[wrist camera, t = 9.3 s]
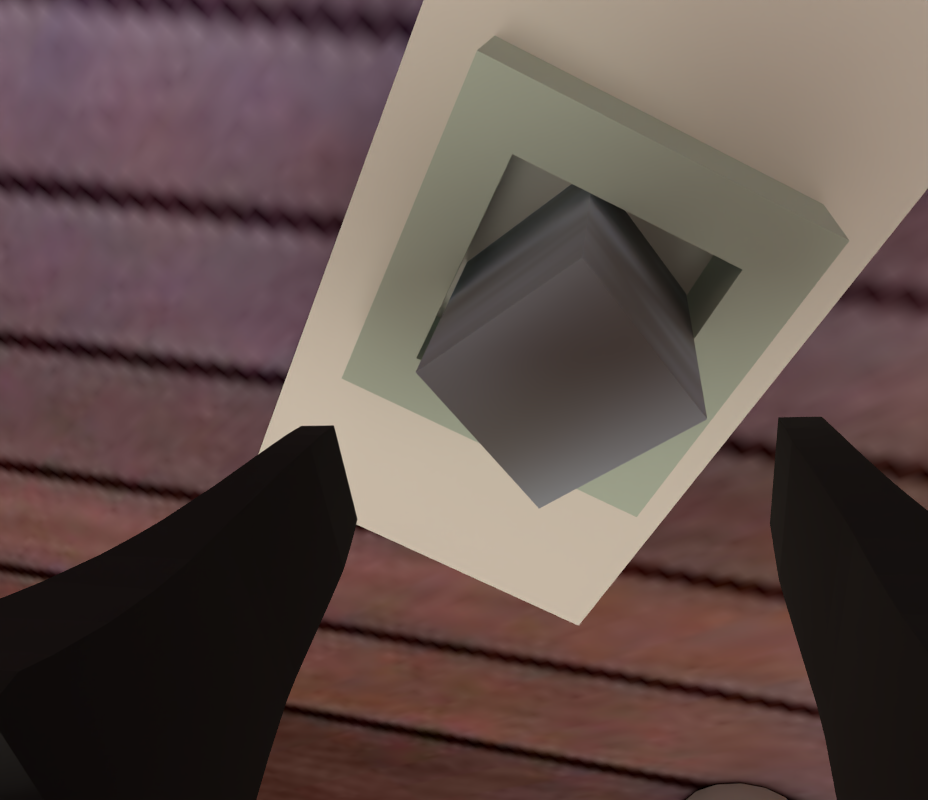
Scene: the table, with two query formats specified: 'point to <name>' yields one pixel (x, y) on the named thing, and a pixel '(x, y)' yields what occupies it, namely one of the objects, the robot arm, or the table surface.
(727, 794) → the bottle
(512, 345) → the post
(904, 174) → the board with square socket
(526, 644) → the table surface
